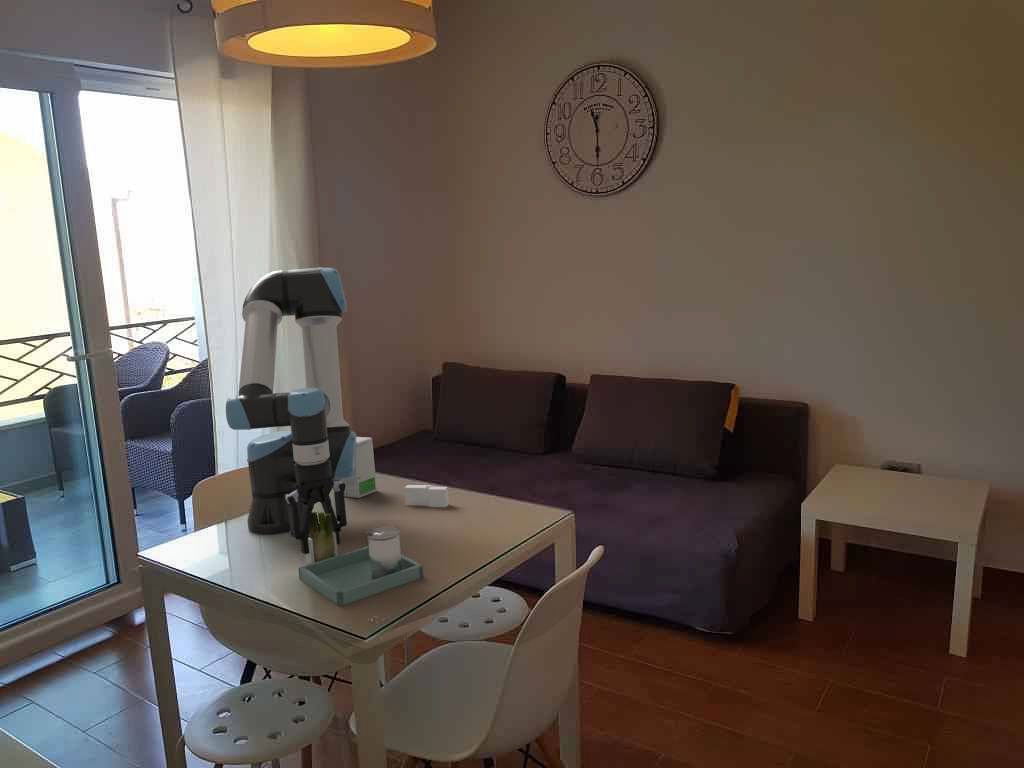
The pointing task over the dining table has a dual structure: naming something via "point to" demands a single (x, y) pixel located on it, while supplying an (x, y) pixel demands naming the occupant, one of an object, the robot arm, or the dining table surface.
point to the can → (384, 551)
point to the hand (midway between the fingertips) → (322, 562)
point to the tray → (354, 576)
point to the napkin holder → (426, 495)
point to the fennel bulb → (322, 536)
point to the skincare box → (362, 470)
